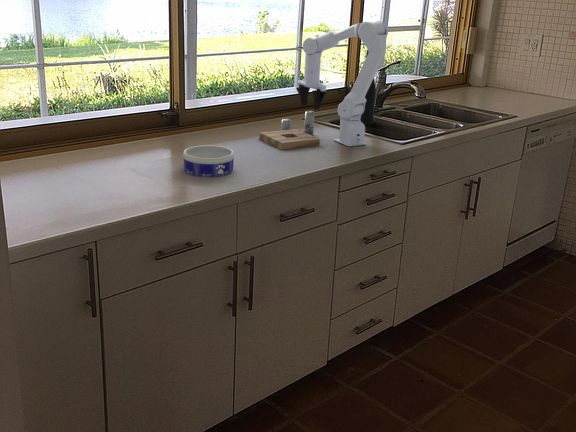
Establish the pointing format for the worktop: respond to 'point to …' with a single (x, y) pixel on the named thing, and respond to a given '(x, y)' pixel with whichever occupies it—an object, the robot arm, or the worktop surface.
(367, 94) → the wine bottle
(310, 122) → the long pin
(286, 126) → the short pin
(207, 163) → the dog bowl
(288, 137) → the hole plate
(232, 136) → the worktop surface
